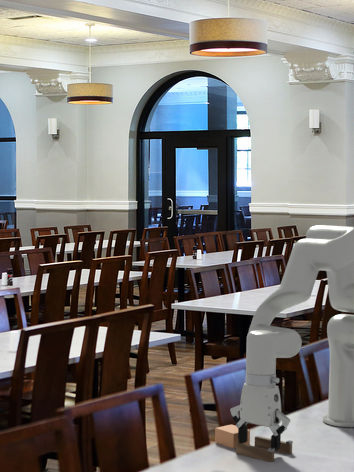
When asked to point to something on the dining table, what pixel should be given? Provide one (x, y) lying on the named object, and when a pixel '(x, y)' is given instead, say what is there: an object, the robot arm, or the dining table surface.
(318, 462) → the dining table surface
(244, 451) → the brown wooden rail pair
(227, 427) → the light orange block
